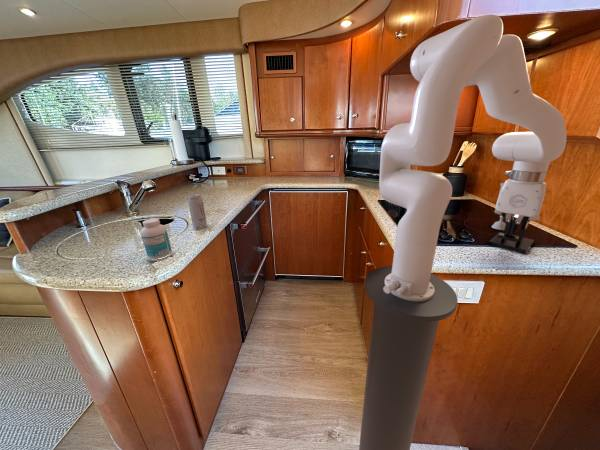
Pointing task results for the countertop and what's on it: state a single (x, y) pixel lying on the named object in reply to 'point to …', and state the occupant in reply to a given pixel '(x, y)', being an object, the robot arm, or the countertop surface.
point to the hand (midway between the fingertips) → (509, 233)
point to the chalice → (500, 224)
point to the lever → (509, 237)
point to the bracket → (519, 246)
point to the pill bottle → (155, 240)
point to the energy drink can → (197, 211)
